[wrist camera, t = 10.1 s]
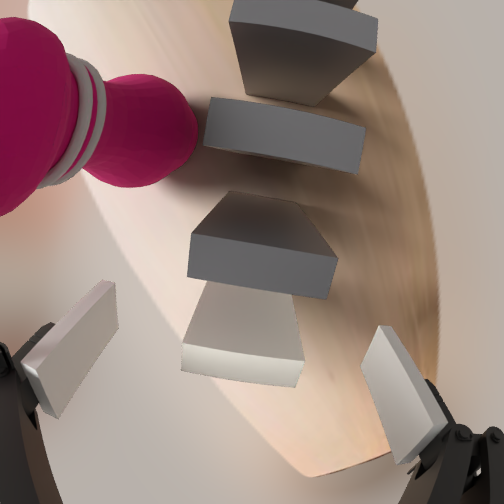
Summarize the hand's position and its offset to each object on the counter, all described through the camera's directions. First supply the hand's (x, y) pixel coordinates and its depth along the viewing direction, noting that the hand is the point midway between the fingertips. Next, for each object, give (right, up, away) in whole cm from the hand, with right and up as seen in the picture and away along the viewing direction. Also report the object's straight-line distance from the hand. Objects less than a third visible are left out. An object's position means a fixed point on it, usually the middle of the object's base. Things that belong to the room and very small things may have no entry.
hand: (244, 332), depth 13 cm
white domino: (0, +3, +9) cm, 10 cm away
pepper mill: (-7, +13, +6) cm, 16 cm away
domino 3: (+1, +7, +8) cm, 11 cm away
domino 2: (+2, +11, +6) cm, 13 cm away
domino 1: (+3, +15, +5) cm, 16 cm away
